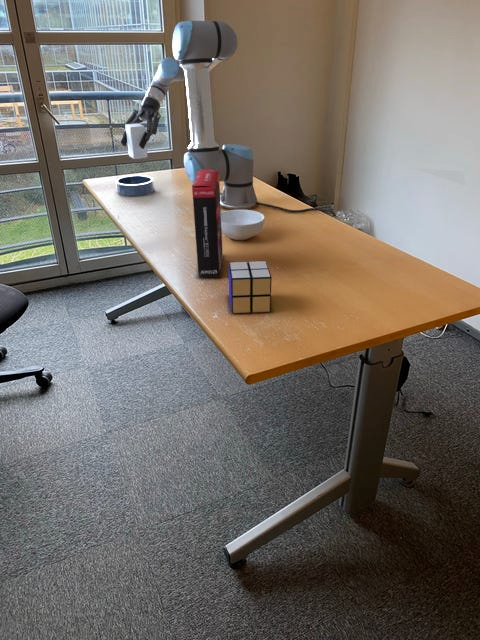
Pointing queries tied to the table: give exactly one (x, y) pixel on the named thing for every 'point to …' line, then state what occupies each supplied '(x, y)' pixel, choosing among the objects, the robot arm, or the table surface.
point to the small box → (135, 140)
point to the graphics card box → (207, 222)
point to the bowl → (134, 185)
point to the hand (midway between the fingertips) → (131, 145)
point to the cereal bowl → (241, 223)
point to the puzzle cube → (249, 287)
